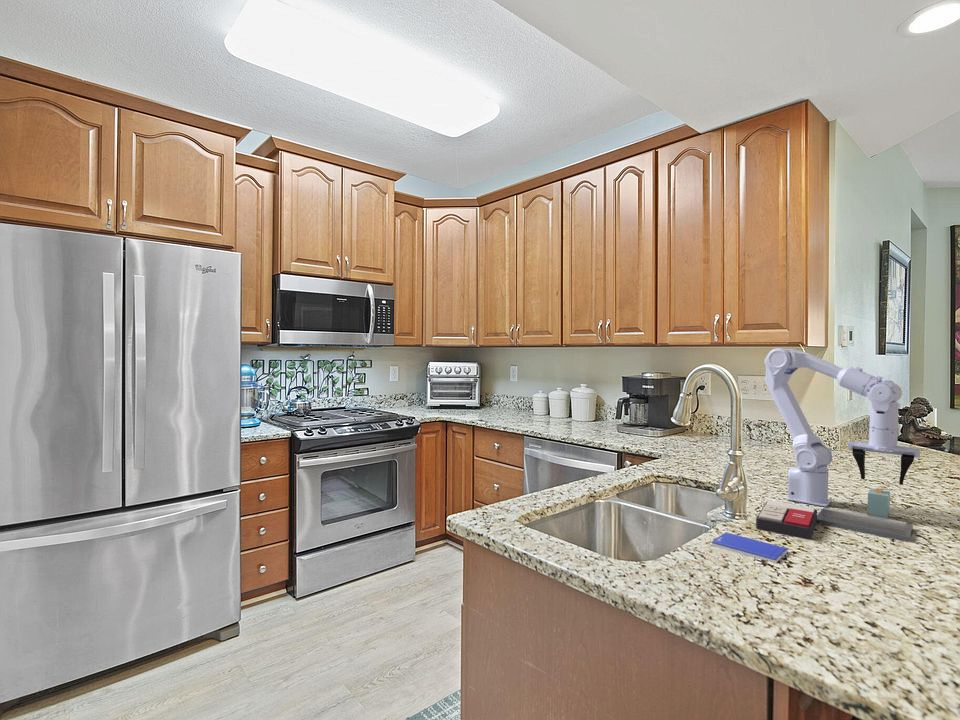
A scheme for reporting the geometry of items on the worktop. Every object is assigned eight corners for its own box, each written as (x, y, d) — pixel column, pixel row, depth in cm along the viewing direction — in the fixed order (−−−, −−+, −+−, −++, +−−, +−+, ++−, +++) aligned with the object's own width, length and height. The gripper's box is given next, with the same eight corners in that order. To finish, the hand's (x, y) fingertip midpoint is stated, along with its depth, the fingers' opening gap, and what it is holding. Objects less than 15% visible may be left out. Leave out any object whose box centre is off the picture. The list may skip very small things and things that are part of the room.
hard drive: (711, 540, 110) (776, 558, 101) (726, 531, 115) (788, 547, 107) (711, 548, 110) (776, 566, 101) (725, 538, 116) (787, 554, 107)
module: (867, 517, 130) (868, 489, 130) (870, 511, 135) (870, 485, 134) (887, 520, 127) (888, 493, 127) (889, 515, 132) (890, 488, 132)
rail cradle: (813, 522, 125) (814, 512, 125) (823, 511, 134) (823, 502, 134) (909, 541, 113) (909, 530, 113) (912, 528, 122) (913, 518, 122)
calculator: (755, 515, 121) (766, 497, 132) (755, 532, 121) (766, 514, 133) (811, 525, 114) (817, 506, 126) (810, 544, 114) (817, 523, 126)
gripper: (846, 426, 132) (845, 479, 132) (920, 433, 123) (918, 489, 123) (849, 424, 137) (848, 474, 138) (920, 430, 128) (919, 484, 128)
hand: (881, 481), depth 131 cm, fingers open, 7 cm apart
